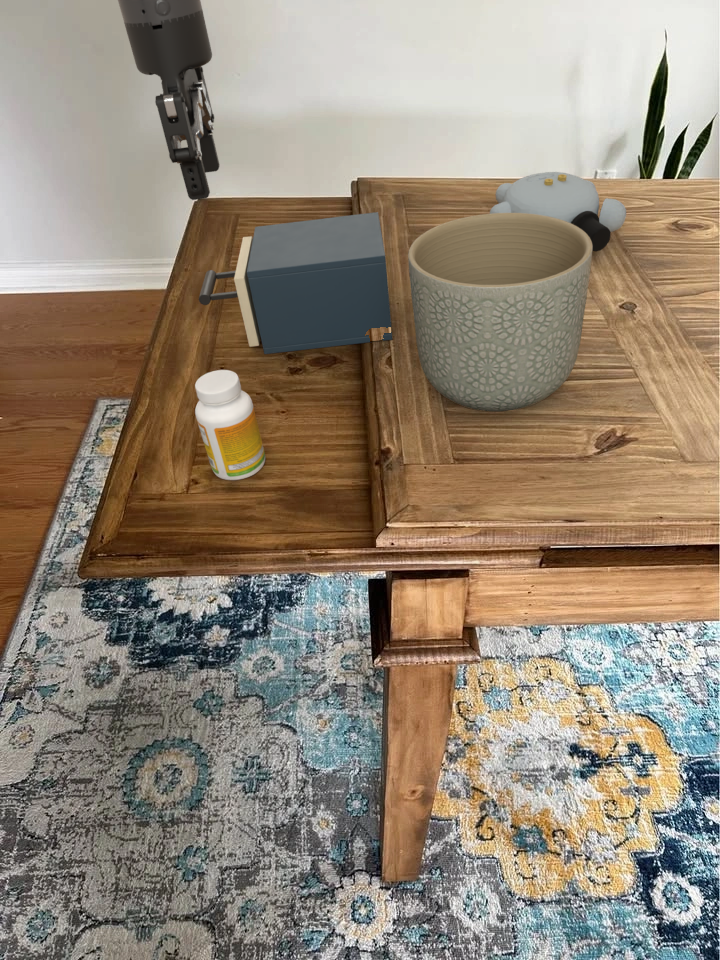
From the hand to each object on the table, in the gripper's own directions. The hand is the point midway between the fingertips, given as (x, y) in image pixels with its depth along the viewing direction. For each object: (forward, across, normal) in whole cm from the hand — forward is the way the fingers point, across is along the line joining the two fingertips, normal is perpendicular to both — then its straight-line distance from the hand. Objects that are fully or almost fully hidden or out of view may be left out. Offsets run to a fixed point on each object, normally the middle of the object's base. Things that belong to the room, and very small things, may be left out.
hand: (205, 184), depth 80 cm
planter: (+19, +17, +29) cm, 39 cm away
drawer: (+18, -2, +6) cm, 19 cm away
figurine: (+20, -20, +43) cm, 52 cm away
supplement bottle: (+19, +26, +2) cm, 32 cm away
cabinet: (+19, -2, +11) cm, 22 cm away
